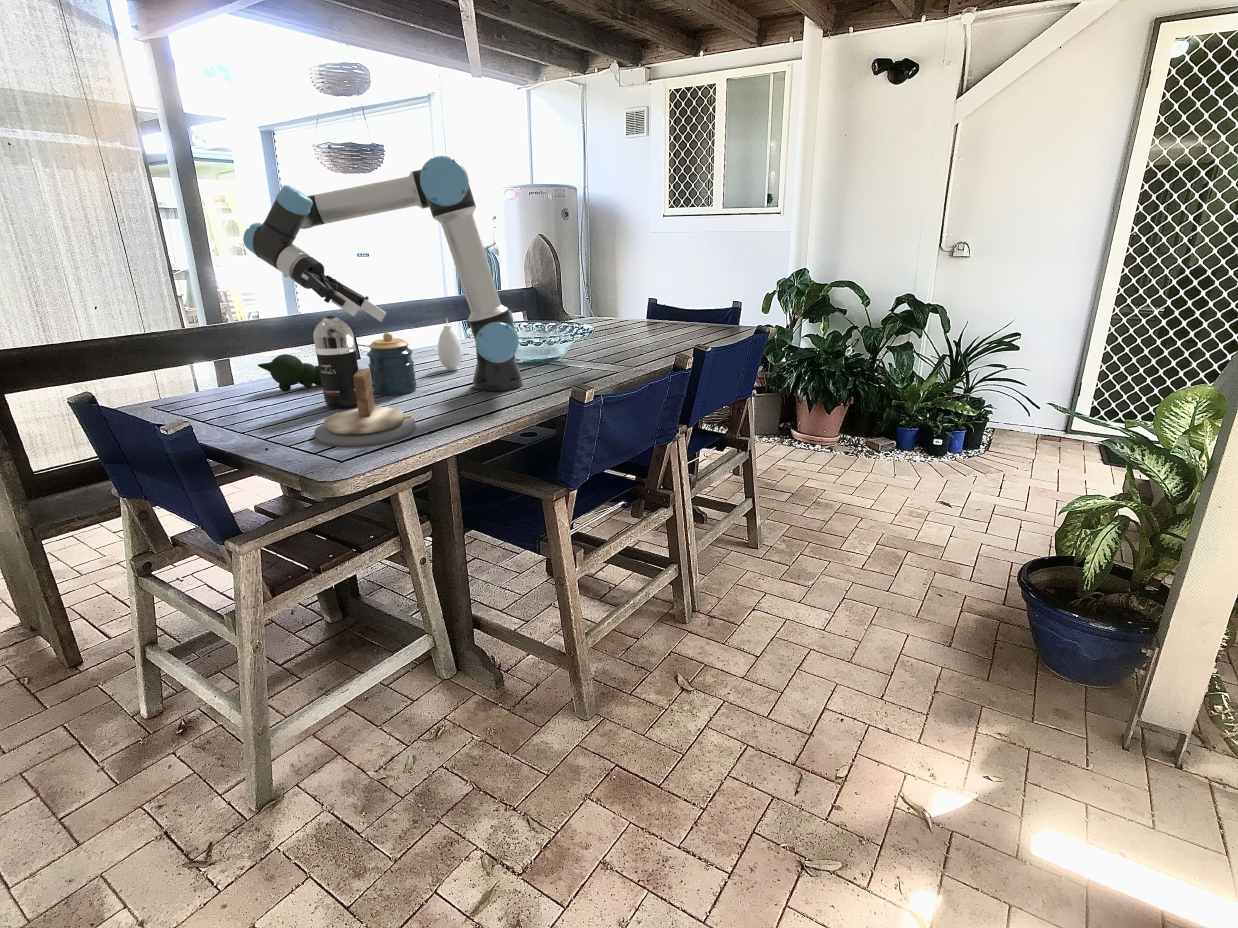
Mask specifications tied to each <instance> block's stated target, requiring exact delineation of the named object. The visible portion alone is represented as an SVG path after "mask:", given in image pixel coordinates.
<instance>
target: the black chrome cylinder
mask: <svg viewBox="0 0 1238 928" xmlns="http://www.w3.org/2000/svg"><path fill="white" fill-rule="evenodd" d="M312 335H313V337H312V338H313V343H314V347H315V349H314V350H315V354H316V359H317V366H319V371H320V377H321V382H322V387H321V388H322V393H323V399H324V404H325V405H326V407H328V408H330V409H335V410H342V409H344V410H345V409H352V408H355V407H358V405H357V399H356V393H355V386H354V380H353V376H354V375H355V374H356V372H357V371H358V370H359V363H358V358H357V352H356V351H357V348H356V344H355V337H354V336H355V335H354V333H353V330H352V328H351V327H350V326H349V325H348V324H347V323H346V322H344V321H343V320H342V319H340V318H338V317H336V315H334V314H328V315H326V316H325V317H324V318H323V319H322V320H321V321H320V322H319V323H318V324H317V325H316V326H315V329H314V330H313V334H312Z"/></svg>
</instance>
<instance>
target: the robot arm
mask: <svg viewBox="0 0 1238 928" xmlns="http://www.w3.org/2000/svg"><path fill="white" fill-rule="evenodd" d="M413 207H419V208H420V209H422V210H423V209H426V208H427V209H428V208H429V210H430V214H431V216H432V219H434V220H435V221H437V222H438V223H440V224H441V227H442V230H443V233H444V236H445V239H446V242H447V245H448V247H449V251H450V254H451V257H452V260H453V263H454V266H455V269H456V271H457V274H458V278H459V280H460V284H461V285H462V289H463V292H464V295H465V298H466V301H467V304H468V306H469V309H470V314H469V316H468V318H467V322H468V324H469V327H470V330H471V333H472V336H473V339H474V341H475V351H476V352H475V353H476V366H475V370H474V375H473V379H472V384H473V389H475V390H479V391H484V392H485V391H486V392H500V391H501V392H503V391H510V390H514V389H518V388H520V387H522V386H523V385H524V384H523V377H522V374H521V371H520V368H519V366H518V364H517V361H516V353H517V351H518V349H519V345H520V339H519V335H518V332H517V331H516V330H515V326H514V317H513V313H512V311H511V310H509V308H508V307H507V306H505V305H503V304H502V303H501V300H500V296H499V294H498V290H497V287H496V284H495V280H494V278H493V275H492V272H491V268H490V265H489V262H488V259H487V255H486V253H485V249H484V246H483V243H482V241H481V237H480V236H481V235H480V234H479V231H478V228H477V224H476V221H475V218H474V212H475V210H476V208H477V206H476V202H475V199H474V196H473V193H472V190H471V187H470V183H469V176H468V173H467V170H466V169H465V167H464V166H463V165H462V164H461V163H460V162H459V161H458V160H457V159H455V158H453V157H451V156H445V155H440V156H438V155H437V156H435V157H432V158H430V159H429V160H427V161H426V162H425V163H424V165H423V166H422V168H421V169H418V170H417V169H416V170H413V171H410V173H409V175H408V176H405V177H400V178H399V177H398V178H393V179H389V180H384V181H378V182H373V183H368V184H364V185H358V186H354V187H349V188H348V187H347V188H343V189H338V190H332V191H327V192H322V193H317V194H313V195H306V194H304V193H302V191H299V190H298V189H296V188H295V187H292V186H291V185H289V184H288V185H287V184H286V185H283V186H282V187H281V189H280V190H279V192H278V193H277V194H276V198H275V200H274V202H273V204H272V206H271V208H270V210H269V211H268V214H267V215H266V218H265V219H264V221H263V222H262V223H261V222H254V223H252V224H250V225H249V228H246V229H245V231H244V233H243V238H242V241H243V244H244V247H245V248H247V250H249V251H250V252H251V253H252V254H254V255H255V256H256V257H257V258H258V259H261V260H262V261H264V262H265V263H267V264H268V265H270V266H271V267H273V268H275V269H276V270H277V271H279V272H280V273H283V277H284V278H289V279H291V280H293V282H295V283H296V284H298V285H300V286H301V287H302V288H305V289H306V290H313V292H315V293H316V294H317V295H318V296H319V297H320V298H324V299H323V301H324V302H325V303H327V304H328V303H330V302H331V303H332V304H334V305H335V306H337V307H338V308H340V309H342V310H343V311H345V312H346V313H347V314H349V315H350V316H353V317H356V316H357V313H358V311H359V309H361V310H362V311H364V312H366V313H367V315H370V316H371V317H373V318H374V319H376V320H377V321H378V322H380V323H382V322H383V321H384V318H386V316H387V314H388V313H387V312H386V311H385V310H383V309H381V308H380V307H378V306H377V305H376V304H374V303H373V302H371V301H369V298H370V297H369V296H367V295H366V296H363V295H362V294H360V293H358V292H357V291H355V290H353V289H352V288H350V287H349V286H346V285H345V284H343V283H341V282H340V281H338V280H337V279H335V278H333V277H332V276H330V275H328V274H327V275H325V267H324V265H323V264H322V262H320V261H318V260H317V259H315V258H314V257H313V256H310V255H309V254H308V253H307V252H306V251H304V250H302V249H301V248H299V246H296V245H295V244H293V243H294V241H295V240H296V237H297V235H298V233H299V232H300V230H301V229H302V230H305V229H310V228H313V227H316V226H322V225H323V226H324V225H327V224H331V223H336V222H341V221H342V222H343V221H345V220H351V219H355V218H356V219H357V218H361V217H366V216H371V215H378V214H381V213H385V212H386V213H387V212H392V211H397V210H402V209H407V208H413Z"/></svg>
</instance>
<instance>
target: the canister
mask: <svg viewBox="0 0 1238 928" xmlns="http://www.w3.org/2000/svg"><path fill="white" fill-rule="evenodd" d="M409 344H410V343H409V342H408V341H405V340H404V339H403V338H399V337H398V338H396V337H395V338H393V334H392V333H390V332H384V333H383V336H382V338H381V339H376V340H373V341H372V343H370V344H368V347H369V348H370V350H369V351H368V352H367V353H366V356H367V357H368V359H369V364H368V367H369V368H368V369H370V376H371V383H372V389H373V394H375V395H377V396H400V395H405V394H410V393H412V392H415V391H416V390H417V380H416V375H415V366H414V364H415V362H414V360H413V359H412V354H413V350H412V349H411V348H409V347H408V346H409Z"/></svg>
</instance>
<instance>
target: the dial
mask: <svg viewBox="0 0 1238 928" xmlns="http://www.w3.org/2000/svg"><path fill="white" fill-rule="evenodd" d="M353 380H354V386H355V393H356V399H357V405H358V406H357V408H354V409H353V408H352V409H349V410H344V411H340V412H336V413H334V414H332V415H329V416H327V417H326V418H325V419H324V420H323V421H324V423H325V428H326V430H327V431H329V432H332V433H338V434H364V433H372V432H378V431H383V430H387V429H390V428H393V427H396V426H398V425H400V424H401V423H402V422H403V421H404V415H405V414H404V412H403V411H402V410H401V409H398V408H394V407H387V406H386V407H384V406H381V407H380V406H376V404H375V398H374V392H373V389H372V381H371V375H370V368H358V371H357V372H356V374H355V375H354V376H353ZM324 423H323V424H324Z"/></svg>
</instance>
